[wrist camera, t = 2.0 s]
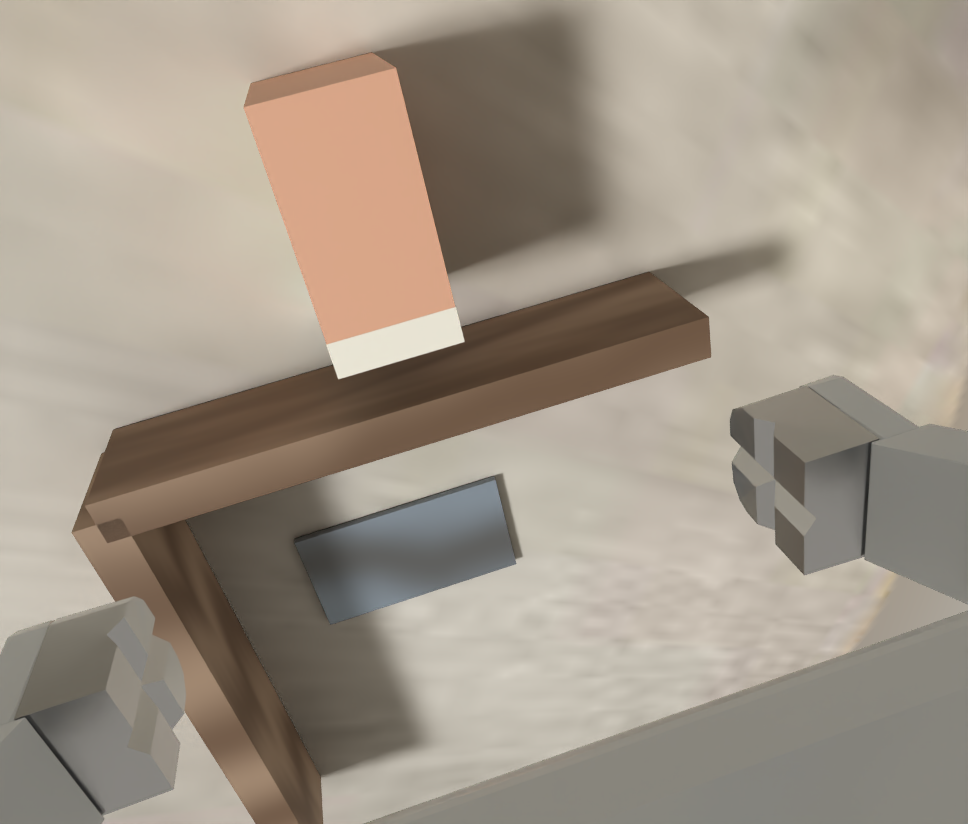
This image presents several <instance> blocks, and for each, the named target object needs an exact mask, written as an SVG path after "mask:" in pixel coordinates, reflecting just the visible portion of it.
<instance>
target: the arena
mask: <svg viewBox="0 0 968 824" xmlns="http://www.w3.org/2000/svg"><path fill="white" fill-rule="evenodd" d="M461 329H462V333H463V337H464V341H465V342H463V343H459V344H456V345H453V346H449V347H446V348H443V349H439V350H436V351H432V352H429V353H426V354H422V355H419V356H416V357H412V358H409V359H405V360H402V361H399V362H395V363H392V364H389V365H385V366H382V367H379V368H375V369H372V370H368V371H365V372H362V373H358V374H355V375H352V376H348V377H345V378H341V379H338V377H337V374H336V371H335V368H334V366H333V365H332V366H328V367H325V368H321V369H318V370H315V371H311V372H308V373H304V374H301V375H298V376H294V377H291V378H287V379H284V380H281V381H277V382H274V383H270V384H267V385H264V386H260V387H257V388H254V389H250V390H247V391H243V392H240V393H237V394H233V395H230V396H226V397H223V398H220V399H216V400H213V401H209V402H206V403H203V404H199V405H196V406H192V407H189V408H186V409H182V410H179V411H175V412H172V413H169V414H165V415H162V416H158V417H155V418H152V419H148V420H145V421H142V422H138V423H135V424H131V425H128V426H125V427H121V428H118V429H114V430H113V431H112V434H111V437H110V439H109V442H108V445H107V448H106V450H105V453H102V454H101V456H100V459H99V461H98V464H97V467H96V469H95V472H94V475H93V477H92V480H91V483H90V485H89V488H88V490H87V493H86V496H85V498H84V501H83V504H82V506H81V509H80V512H79V514H78V517H77V520H76V522H75V525H74V527H73V530H72V534H73V536H74V537H75V539H76V540H77V542H78V544H79V545H80V547H81V548H82V550H83V551H84V553H85V555H86V556H87V558H88V559H89V561H90V562H91V564H92V566H93V567H94V569H95V570H96V572H97V574H98V575H99V577H100V578H101V580H102V581H103V583H104V585H105V586H106V588H107V589H108V591H109V593H110V594H111V596H112V597H113V599H114V600H115V602H116V601H120V600H123V599H127V598H130V597H134V596H135V597H137V598H140V599H143V600H144V602H145V603H146V605H147V606H148V608H149V609H150V611H151V612H152V614H153V615H154V617H155V622H154V627H153V632H152V635H154V636H156V637H158V638H161V639H163V640H165V641H168V642H170V644H171V646H172V647H173V649H174V651H175V653H176V654H177V656H178V659H179V662H180V664H181V667H182V670H183V673H184V681H185V689H186V701H185V713H186V714H187V716H188V717H189V719H190V720H191V722H192V724H193V725H194V727H195V728H196V730H197V732H198V733H199V735H200V736H201V738H202V739H203V741H204V743H205V744H206V746H207V747H208V749H209V750H210V752H211V754H212V755H213V757H214V758H215V760H216V762H217V763H218V765H219V766H220V768H221V769H222V771H223V773H224V774H225V776H226V777H227V779H228V781H229V782H230V784H231V785H232V787H233V788H234V790H235V792H236V793H237V795H238V796H239V798H240V799H241V801H242V803H243V804H244V806H245V807H246V809H247V811H248V812H249V814H250V815H251V817H252V818H253V820H254V822H255V823H256V824H323V811H322V793H321V777H320V775H319V773H318V771H317V769H316V767H315V765H314V763H313V761H312V760H311V758H310V756H309V754H308V752H307V750H306V748H305V746H304V744H303V743H302V741H301V739H300V737H299V735H298V733H297V731H296V729H295V727H294V725H293V724H292V722H291V720H290V718H289V716H288V714H287V712H286V710H285V708H284V706H283V705H282V703H281V701H280V699H279V697H278V695H277V693H276V691H275V689H274V688H273V686H272V684H271V682H270V680H269V678H268V676H267V674H266V672H265V670H264V669H263V667H262V665H261V663H260V661H259V659H258V657H257V655H256V653H255V652H254V650H253V648H252V646H251V644H250V642H249V640H248V638H247V636H246V634H245V633H244V631H243V629H242V627H241V625H240V623H239V621H238V619H237V617H236V615H235V614H234V612H233V610H232V608H231V606H230V604H229V602H228V600H227V598H226V597H225V595H224V593H223V591H222V589H221V587H220V585H219V583H218V581H217V579H216V578H215V576H214V574H213V572H212V570H211V568H210V566H209V564H208V562H207V561H206V559H205V557H204V555H203V553H202V551H201V549H200V547H199V545H198V543H197V542H196V540H195V538H194V536H193V534H192V532H191V530H190V528H189V526H188V524H187V523H186V521H185V519H188V518H191V517H195V516H198V515H201V514H204V513H208V512H211V511H214V510H217V509H221V508H224V507H227V506H230V505H234V504H237V503H240V502H243V501H247V500H250V499H253V498H256V497H259V496H263V495H266V494H269V493H272V492H276V491H279V490H282V489H285V488H289V487H292V486H295V485H298V484H302V483H305V482H308V481H311V480H315V479H318V478H321V477H324V476H328V475H331V474H334V473H337V472H340V471H344V470H347V469H350V468H353V467H357V466H360V465H363V464H366V463H370V462H373V461H376V460H379V459H383V458H386V457H389V456H392V455H396V454H399V453H402V452H405V451H409V450H412V449H415V448H418V447H422V446H425V445H428V444H431V443H434V442H438V441H441V440H444V439H447V438H451V437H454V436H457V435H460V434H464V433H467V432H470V431H473V430H477V429H480V428H483V427H486V426H490V425H493V424H496V423H499V422H503V421H506V420H509V419H512V418H516V417H519V416H522V415H525V414H528V413H532V412H535V411H538V410H541V409H545V408H548V407H551V406H554V405H558V404H561V403H564V402H567V401H571V400H574V399H577V398H580V397H584V396H587V395H590V394H593V393H597V392H600V391H603V390H606V389H609V388H613V387H616V386H619V385H622V384H626V383H629V382H632V381H635V380H639V379H642V378H645V377H648V376H652V375H655V374H658V373H661V372H665V371H668V370H671V369H674V368H678V367H681V366H684V365H687V364H691V363H694V362H697V361H700V360H703V359H707V358H710V357H711V345H710V329H709V317H708V316H707V315H706V314H704V313H703V312H702V311H700V310H699V309H698V308H696V307H695V306H694V305H692V304H691V303H690V302H688V301H687V300H686V299H684V298H683V297H682V296H681V295H679V294H678V293H677V292H675V291H674V290H673V289H671V288H670V287H669V286H667V285H666V284H665V283H663V282H662V281H661V280H659V279H658V278H657V277H655V276H654V275H653V274H651V273H650V272H647V273H644V274H640V275H637V276H634V277H630V278H627V279H623V280H620V281H617V282H613V283H610V284H606V285H603V286H600V287H596V288H593V289H589V290H586V291H583V292H579V293H576V294H573V295H569V296H566V297H562V298H559V299H556V300H552V301H549V302H545V303H542V304H539V305H535V306H532V307H528V308H525V309H522V310H518V311H515V312H511V313H508V314H505V315H501V316H498V317H494V318H491V319H488V320H484V321H481V322H477V323H474V324H471V325H467V326H464V327H461ZM294 543H295V546H296V548H297V550H298V552H299V555H300V557H301V559H302V562H303V564H304V566H305V568H306V571H307V573H308V575H309V577H310V580H311V582H312V584H313V586H314V589H315V591H316V593H317V596H318V598H319V600H320V602H321V605H322V607H323V609H324V611H325V614H326V616H327V618H328V620H329V623H330V625H331V624H334V623H338V622H341V621H344V620H347V619H350V618H353V617H356V616H359V615H362V614H365V613H368V612H371V611H374V610H377V609H380V608H383V607H386V606H389V605H392V604H395V603H399V602H402V601H405V600H408V599H411V598H414V597H417V596H420V595H423V594H426V593H429V592H432V591H435V590H438V589H441V588H444V587H447V586H450V585H453V584H457V583H460V582H463V581H466V580H469V579H472V578H475V577H478V576H481V575H484V574H487V573H490V572H493V571H496V570H499V569H502V568H505V567H508V566H511V565H514V564H516V561H515V557H514V553H513V549H512V545H511V541H510V537H509V533H508V529H507V525H506V521H505V516H504V512H503V508H502V504H501V500H500V496H499V492H498V488H497V484H496V480H495V478H494V476H493V477H490V478H486V479H483V480H480V481H477V482H474V483H471V484H467V485H464V486H461V487H458V488H455V489H451V490H448V491H445V492H442V493H439V494H436V495H432V496H429V497H426V498H423V499H420V500H417V501H413V502H410V503H407V504H404V505H401V506H398V507H394V508H391V509H388V510H385V511H382V512H379V513H375V514H372V515H369V516H366V517H363V518H360V519H356V520H353V521H350V522H347V523H344V524H341V525H337V526H334V527H331V528H328V529H325V530H321V531H318V532H315V533H312V534H309V535H306V536H302V537H299V538H296V539H294Z"/></svg>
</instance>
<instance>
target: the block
mask: <svg viewBox="0 0 968 824" xmlns="http://www.w3.org/2000/svg"><path fill="white" fill-rule="evenodd" d="M244 110H245V113H246V115H247V118H248V121H249V124H250V127H251V130H252V133H253V135H254V138H255V141H256V144H257V147H258V150H259V152H260V155H261V158H262V161H263V164H264V167H265V170H266V172H267V175H268V178H269V181H270V184H271V187H272V190H273V192H274V195H275V198H276V201H277V204H278V207H279V210H280V212H281V215H282V218H283V221H284V224H285V227H286V229H287V232H288V235H289V238H290V241H291V244H292V247H293V249H294V252H295V255H296V258H297V261H298V264H299V267H300V269H301V272H302V275H303V278H304V281H305V284H306V286H307V289H308V292H309V295H310V298H311V301H312V304H313V306H314V309H315V312H316V315H317V318H318V321H319V324H320V326H321V329H322V332H323V335H324V338H325V341H326V346H327V349H328V351H329V354H330V357H331V360H332V363H333V366H334V368H335V371H336V374H337V377H338V379H341V378H345V377H348V376H352V375H355V374H358V373H362V372H365V371H368V370H372V369H375V368H379V367H382V366H385V365H389V364H392V363H395V362H399V361H402V360H405V359H409V358H412V357H416V356H419V355H422V354H426V353H429V352H432V351H436V350H439V349H443V348H446V347H449V346H453V345H456V344H459V343H463V342H465V341H464V337H463V333H462V329H461V325H460V321H459V317H458V313H457V309H456V306H455V304H454V300H453V296H452V292H451V288H450V284H449V280H448V275H447V271H446V267H445V263H444V259H443V255H442V251H441V247H440V243H439V239H438V235H437V231H436V227H435V223H434V219H433V215H432V211H431V207H430V203H429V199H428V195H427V191H426V187H425V183H424V179H423V174H422V170H421V166H420V162H419V158H418V154H417V150H416V146H415V142H414V138H413V134H412V130H411V126H410V122H409V118H408V114H407V110H406V106H405V102H404V98H403V94H402V90H401V86H400V82H399V78H398V73H397V69H396V67H394V66H392V65H391V64H389V63H388V62H386V61H385V60H383V59H381V58H380V57H378V56H377V55H375V54H374V53H372V52H371V53H367V54H363V55H360V56H356V57H352V58H348V59H344V60H340V61H336V62H332V63H328V64H324V65H320V66H317V67H313V68H309V69H305V70H301V71H297V72H293V73H289V74H285V75H281V76H278V77H274V78H270V79H266V80H262V81H258V82H254V83H251V84H250V88H249V91H248V94H247V98H246V101H245V104H244Z"/></svg>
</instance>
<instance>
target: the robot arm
mask: <svg viewBox="0 0 968 824" xmlns="http://www.w3.org/2000/svg"><path fill="white" fill-rule="evenodd" d="M730 436H731V437H732V438H733V439H734V440H735V441H736V442H737V443H738V444H739V445H740V446H741V447H740V449H739V450H738V452H737V454H736V456H735V457H734V459H733V461H732V470H733V481H734V484H735V487H736V490H737V493H738V496H739V499H740V501H741V503H742V505H743V506H744V508H745V510H746V511H747V513H748V514H749V515H750V516H751V517H752V519H753V520H754V521H755V522H756V523H757V524H758V525H761V526H764V527H767V528H771V529H774V530H775V543H776V545H777V546H778V547H779V548H780V550H781V551H782V552H783V553H784V554H785V555H786V556H787V557H788V558H789V559H790V560H791V561H792V563H793V564H794V565H795V566H796V567H797V568H798V569H799V570H800V571H801V572H802V573H803V574H804V575H807V574H810V573H813V572H816V571H820V570H823V569H826V568H829V567H833V566H836V565H839V564H842V563H846V562H849V561H852V560H855V559H858V558H862V557H865V560H866V561H869V562H871V563H873V564H876V565H878V566H880V567H883V568H885V569H887V570H889V571H892V572H894V573H896V574H899V575H901V576H903V577H906V578H908V579H910V580H913V581H915V582H917V583H920V584H922V585H924V586H926V587H929V588H931V589H933V590H936V591H938V592H940V593H943V594H945V595H947V596H950V597H952V598H954V599H956V600H959V601H961V602H963V603H966V604H968V431H965V430H960V429H955V428H949V427H944V426H939V425H933V424H928V425H924V426H921V427H918V426H917V425H915V424H914V423H912V422H911V421H909V420H908V419H906V418H905V417H903V416H902V415H900V414H899V413H897V412H896V411H894V410H893V409H891V408H889V407H888V406H886V405H885V404H883V403H882V402H880V401H879V400H877V399H876V398H874V397H873V396H871V395H870V394H868V393H867V392H865V391H864V390H862V389H861V388H859V387H858V386H856V385H855V384H853V383H852V382H850V381H849V380H847V379H846V378H844V377H842V376H836V375H832V376H829V377H826V378H823V379H820V380H817V381H814V382H812V383H809V384H806V385H803V386H800V387H799V388H797V389H794V390H791V391H788V392H785V393H782V394H779V395H776V396H773V397H769V398H766V399H763V400H760V401H757V402H754V403H751V404H748V405H745V406H742V407H739V408H736V409H733V410H732V414H731V418H730ZM154 622H155V617H154V615H153V614H152V612H151V611H150V609H149V608H148V606H147V605H146V603H145V602H144V600H143V599H140V598H137V597H135V596H134V597H130V598H127V599H123V600H120V601H116V602H113V603H110V604H106V605H103V606H99V607H96V608H92V609H89V610H86V611H82V612H79V613H75V614H72V615H68V616H65V617H62V618H58V619H56V620H54V621H48V622H45V623H42V624H39V625H35V626H32V627H29V628H26V629H23V630H20V631H17V632H15V633H14V634H13V635H11V636H10V637H8V638H7V640H6V642H5V645H4V647H3V649H2V652H1V654H0V824H101V823H102V822H103V820H104V817H103V815H106V814H108V813H111V812H114V811H116V810H119V809H122V808H124V807H127V806H130V805H133V804H135V803H138V802H141V801H143V800H146V799H149V798H152V797H154V796H157V795H160V794H162V793H165V792H168V791H171V790H173V789H174V784H175V777H176V770H177V762H178V755H179V748H180V742H179V740H178V739H177V737H176V735H175V734H174V732H173V731H172V729H173V728H174V726H175V725H176V724H177V722H178V721H179V720H180V718H181V717H182V716H183V714H184V711H185V701H186V689H185V681H184V673H183V670H182V667H181V664H180V662H179V659H178V656H177V654H176V653H175V651H174V649H173V647H172V646H171V644H170V642H168V641H165V640H163V639H161V638H158V637H156V636H154V635H152V632H153V627H154ZM364 824H968V611H965V612H962V613H960V614H957V615H954V616H951V617H948V618H945V619H943V620H940V621H937V622H934V623H931V624H929V625H926V626H923V627H920V628H917V629H915V630H912V631H909V632H906V633H903V634H901V635H898V636H895V637H892V638H889V639H886V640H884V641H881V642H878V643H875V644H872V645H870V646H867V647H864V648H861V649H859V650H856V651H853V652H850V653H847V654H844V655H841V656H838V657H836V658H833V659H830V660H827V661H824V662H821V663H819V664H816V665H813V666H810V667H807V668H804V669H801V670H799V671H796V672H793V673H790V674H787V675H784V676H781V677H779V678H776V679H773V680H770V681H767V682H764V683H761V684H759V685H756V686H753V687H750V688H747V689H744V690H741V691H739V692H736V693H733V694H730V695H727V696H724V697H721V698H719V699H716V700H713V701H710V702H707V703H704V704H701V705H699V706H696V707H693V708H690V709H687V710H684V711H681V712H679V713H676V714H673V715H670V716H667V717H664V718H661V719H659V720H656V721H653V722H650V723H647V724H644V725H641V726H639V727H636V728H633V729H630V730H627V731H624V732H622V733H619V734H616V735H613V736H610V737H607V738H605V739H602V740H599V741H596V742H593V743H590V744H588V745H585V746H582V747H579V748H576V749H573V750H571V751H568V752H565V753H562V754H559V755H556V756H554V757H551V758H548V759H545V760H542V761H540V762H537V763H534V764H531V765H528V766H525V767H523V768H520V769H517V770H514V771H511V772H508V773H506V774H503V775H500V776H497V777H494V778H491V779H489V780H486V781H483V782H480V783H477V784H474V785H472V786H469V787H466V788H463V789H460V790H457V791H455V792H452V793H449V794H446V795H443V796H440V797H438V798H435V799H432V800H429V801H426V802H423V803H421V804H418V805H415V806H412V807H409V808H406V809H404V810H401V811H398V812H395V813H392V814H390V815H387V816H384V817H381V818H378V819H375V820H373V821H370V822H367V823H364Z"/></svg>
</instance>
